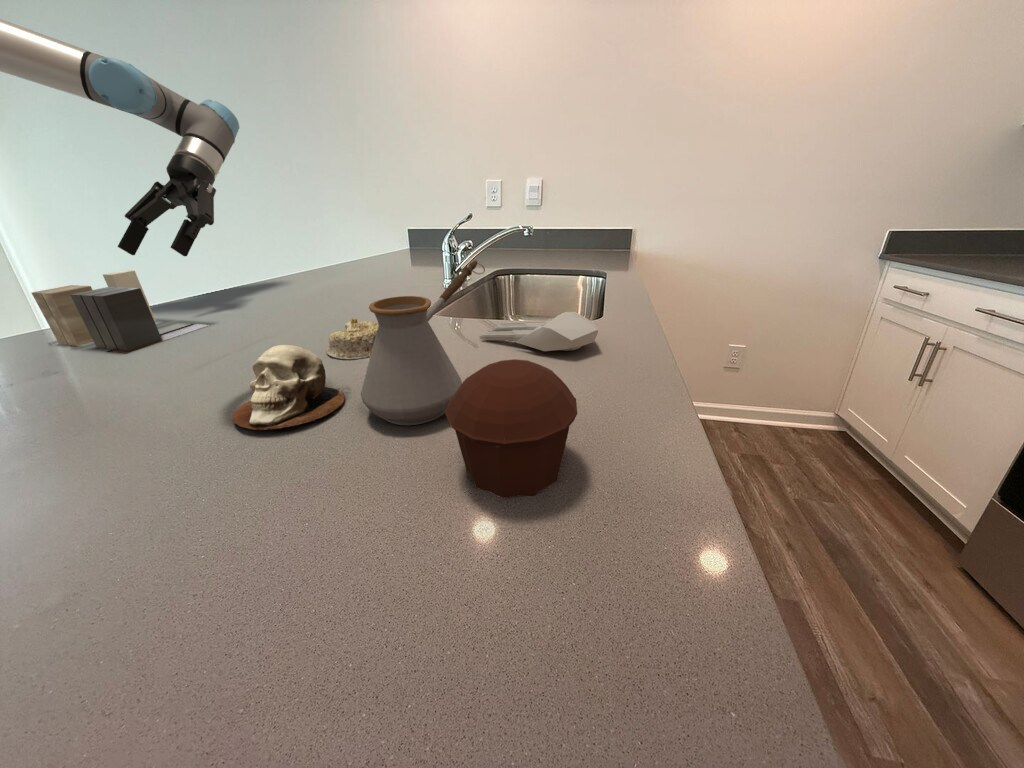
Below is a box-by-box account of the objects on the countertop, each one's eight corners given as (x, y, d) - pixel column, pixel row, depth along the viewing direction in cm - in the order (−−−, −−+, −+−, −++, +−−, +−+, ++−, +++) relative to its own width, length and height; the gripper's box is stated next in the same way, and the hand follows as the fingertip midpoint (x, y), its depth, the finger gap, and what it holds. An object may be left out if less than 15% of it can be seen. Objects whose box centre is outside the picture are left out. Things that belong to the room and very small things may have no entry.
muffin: (497, 422, 45) (493, 337, 41) (592, 450, 40) (599, 356, 36) (426, 484, 36) (411, 383, 32) (537, 530, 31) (537, 417, 27)
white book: (126, 327, 77) (102, 274, 73) (148, 321, 81) (126, 270, 76) (135, 328, 77) (111, 274, 72) (156, 322, 80) (134, 270, 76)
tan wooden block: (50, 352, 69) (17, 293, 65) (142, 325, 82) (119, 274, 78) (84, 356, 67) (52, 295, 63) (172, 328, 80) (151, 275, 76)
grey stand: (93, 356, 67) (61, 295, 63) (180, 328, 80) (159, 276, 76) (129, 360, 65) (99, 297, 61) (212, 331, 78) (192, 277, 74)
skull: (304, 434, 42) (224, 362, 40) (264, 476, 47) (192, 413, 45) (369, 381, 52) (308, 322, 50) (331, 420, 57) (274, 367, 55)
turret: (505, 338, 77) (500, 313, 75) (609, 337, 67) (606, 308, 65) (475, 356, 69) (470, 328, 67) (588, 358, 59) (585, 326, 57)
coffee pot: (422, 445, 42) (401, 301, 35) (343, 420, 47) (312, 289, 40) (518, 369, 58) (516, 261, 52) (453, 356, 63) (444, 257, 57)
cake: (395, 340, 72) (393, 310, 70) (381, 363, 63) (378, 330, 61) (338, 337, 72) (334, 308, 69) (316, 360, 63) (310, 327, 60)
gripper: (257, 179, 86) (219, 264, 80) (167, 182, 92) (125, 261, 86) (227, 149, 79) (183, 239, 73) (132, 154, 85) (83, 238, 79)
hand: (151, 251), depth 79 cm, fingers open, 13 cm apart
